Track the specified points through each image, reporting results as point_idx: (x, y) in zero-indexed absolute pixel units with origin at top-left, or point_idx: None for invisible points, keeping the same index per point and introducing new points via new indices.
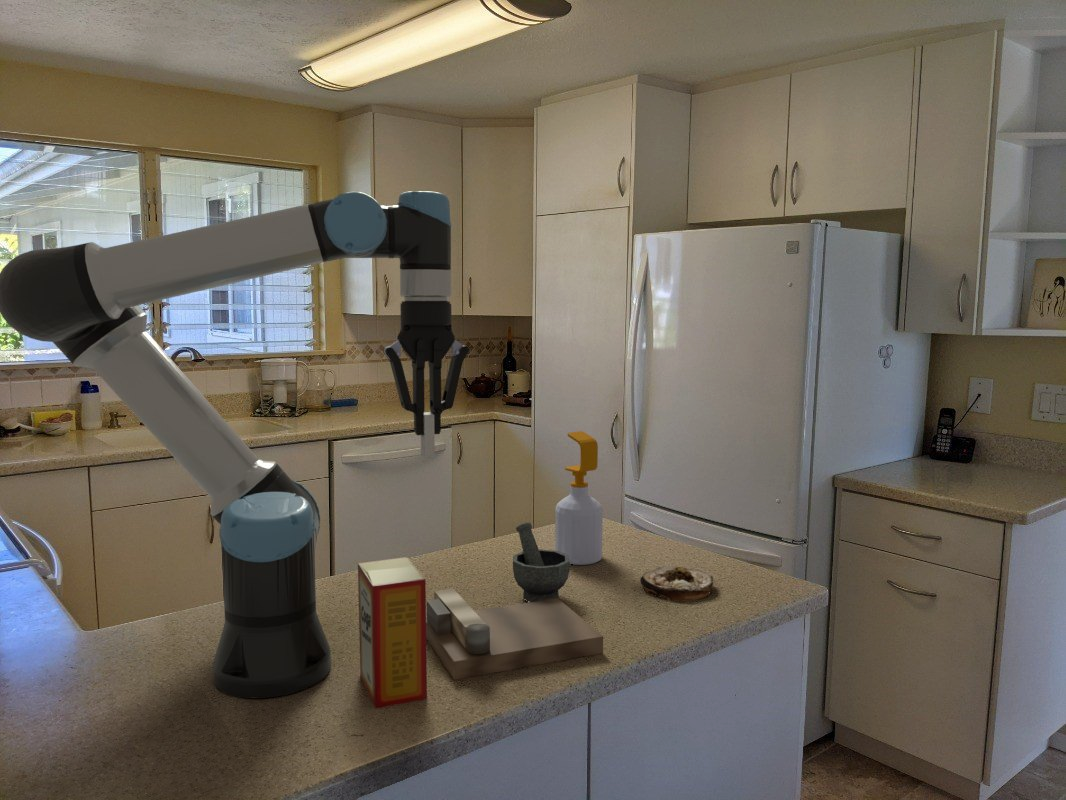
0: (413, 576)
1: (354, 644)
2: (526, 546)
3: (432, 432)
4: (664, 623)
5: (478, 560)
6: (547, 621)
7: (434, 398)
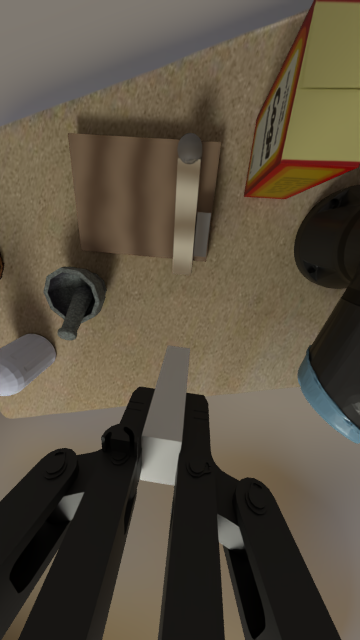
0: (327, 23)
1: (262, 265)
2: (77, 314)
3: (162, 385)
4: (4, 182)
5: (114, 378)
6: (106, 199)
7: (111, 526)
